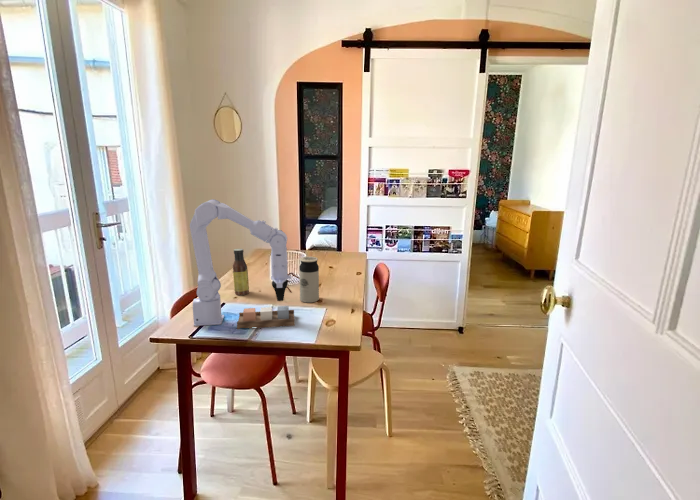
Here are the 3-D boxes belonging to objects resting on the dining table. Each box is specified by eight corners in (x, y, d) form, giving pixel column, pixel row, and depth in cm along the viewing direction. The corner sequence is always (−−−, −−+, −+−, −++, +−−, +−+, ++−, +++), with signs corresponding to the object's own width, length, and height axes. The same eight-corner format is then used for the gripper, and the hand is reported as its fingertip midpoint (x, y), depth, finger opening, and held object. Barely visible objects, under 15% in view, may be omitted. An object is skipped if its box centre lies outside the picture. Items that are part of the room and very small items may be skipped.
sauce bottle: (251, 293, 173) (249, 249, 168) (239, 296, 168) (236, 252, 164) (243, 290, 177) (241, 247, 172) (231, 293, 173) (228, 249, 168)
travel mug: (310, 295, 171) (310, 255, 167) (322, 299, 166) (322, 258, 162) (296, 299, 166) (295, 258, 162) (307, 304, 161) (307, 262, 156)
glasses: (292, 281, 192) (292, 271, 191) (311, 286, 184) (311, 276, 183) (271, 287, 182) (271, 277, 181) (291, 293, 174) (290, 283, 173)
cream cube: (260, 320, 140) (260, 311, 140) (261, 316, 144) (260, 307, 143) (272, 320, 141) (271, 311, 140) (272, 315, 145) (272, 307, 144)
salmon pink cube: (243, 321, 139) (243, 312, 139) (244, 317, 143) (244, 308, 142) (255, 321, 140) (254, 312, 139) (255, 316, 144) (255, 307, 143)
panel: (237, 329, 137) (236, 322, 136) (239, 318, 146) (239, 312, 145) (294, 325, 140) (294, 319, 140) (294, 315, 149) (293, 309, 148)
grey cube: (277, 319, 141) (277, 310, 141) (277, 315, 145) (277, 306, 144) (288, 319, 142) (288, 310, 141) (288, 314, 146) (288, 305, 145)
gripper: (290, 270, 135) (291, 307, 138) (290, 259, 149) (291, 293, 152) (269, 270, 133) (271, 308, 137) (271, 259, 147) (272, 293, 151)
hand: (280, 300), depth 144 cm, fingers closed
